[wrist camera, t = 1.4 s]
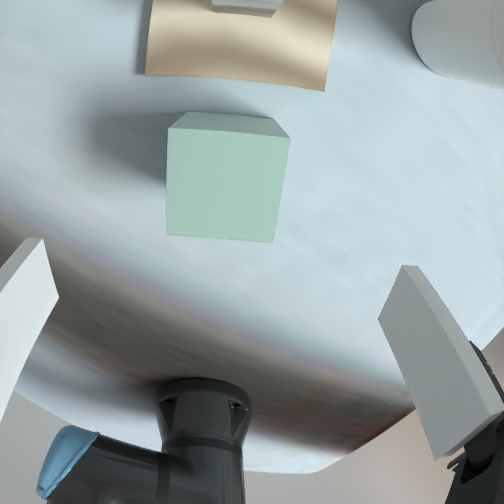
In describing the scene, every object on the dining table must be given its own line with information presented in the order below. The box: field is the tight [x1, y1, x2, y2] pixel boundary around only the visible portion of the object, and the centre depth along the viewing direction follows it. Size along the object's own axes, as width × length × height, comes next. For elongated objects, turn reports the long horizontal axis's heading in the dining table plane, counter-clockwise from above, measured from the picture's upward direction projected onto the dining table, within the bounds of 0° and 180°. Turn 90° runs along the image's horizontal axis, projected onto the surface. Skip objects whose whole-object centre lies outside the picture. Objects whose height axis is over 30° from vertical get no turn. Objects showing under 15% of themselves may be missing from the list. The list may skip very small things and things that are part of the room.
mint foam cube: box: [166, 111, 290, 243], centre depth 22 cm, size 7×7×8 cm
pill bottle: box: [411, 0, 504, 92], centre depth 13 cm, size 8×8×15 cm
